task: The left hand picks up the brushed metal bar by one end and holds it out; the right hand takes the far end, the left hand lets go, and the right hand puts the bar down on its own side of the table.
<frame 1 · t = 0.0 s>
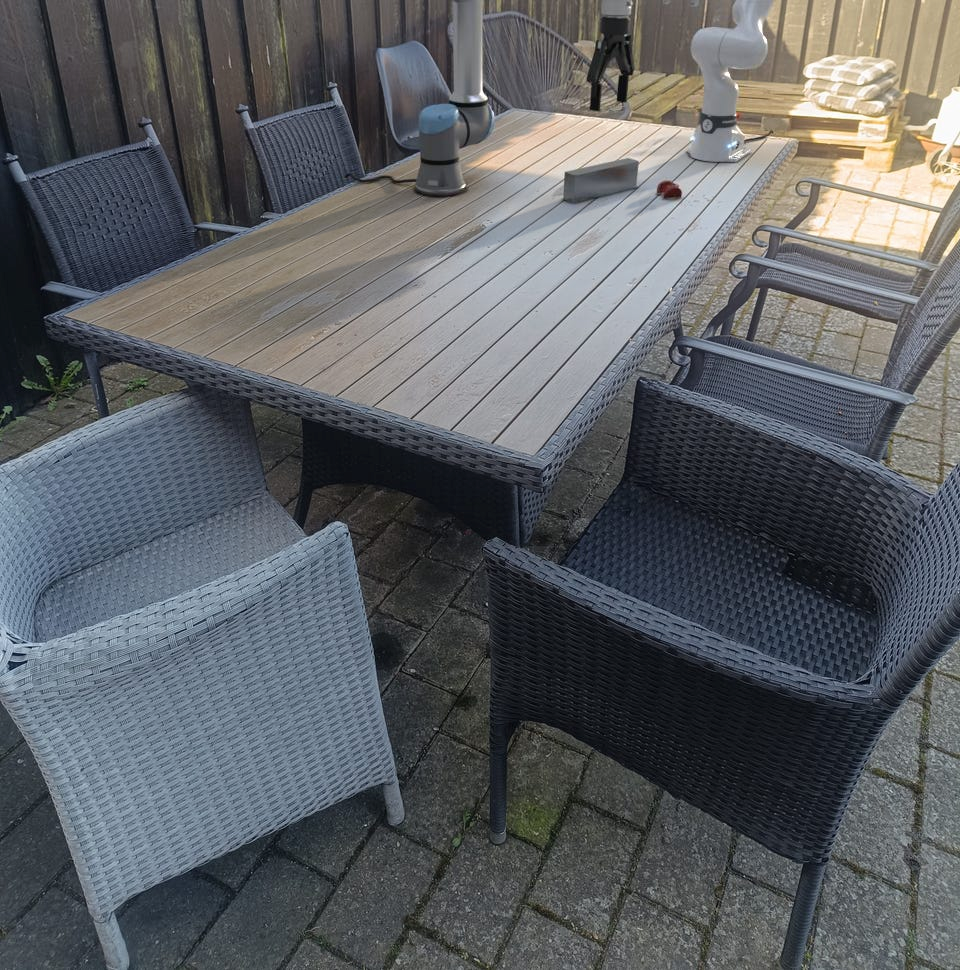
left hand: (608, 106, 226), 28 cm above the table, tool pointing down, fingers open, 13 cm apart
right hand: (680, 4, 244), 48 cm above the table, tool pointing down, fingers open, 8 cm apart
dental model: (668, 196, 253), on the table
bar: (600, 193, 256), on the table
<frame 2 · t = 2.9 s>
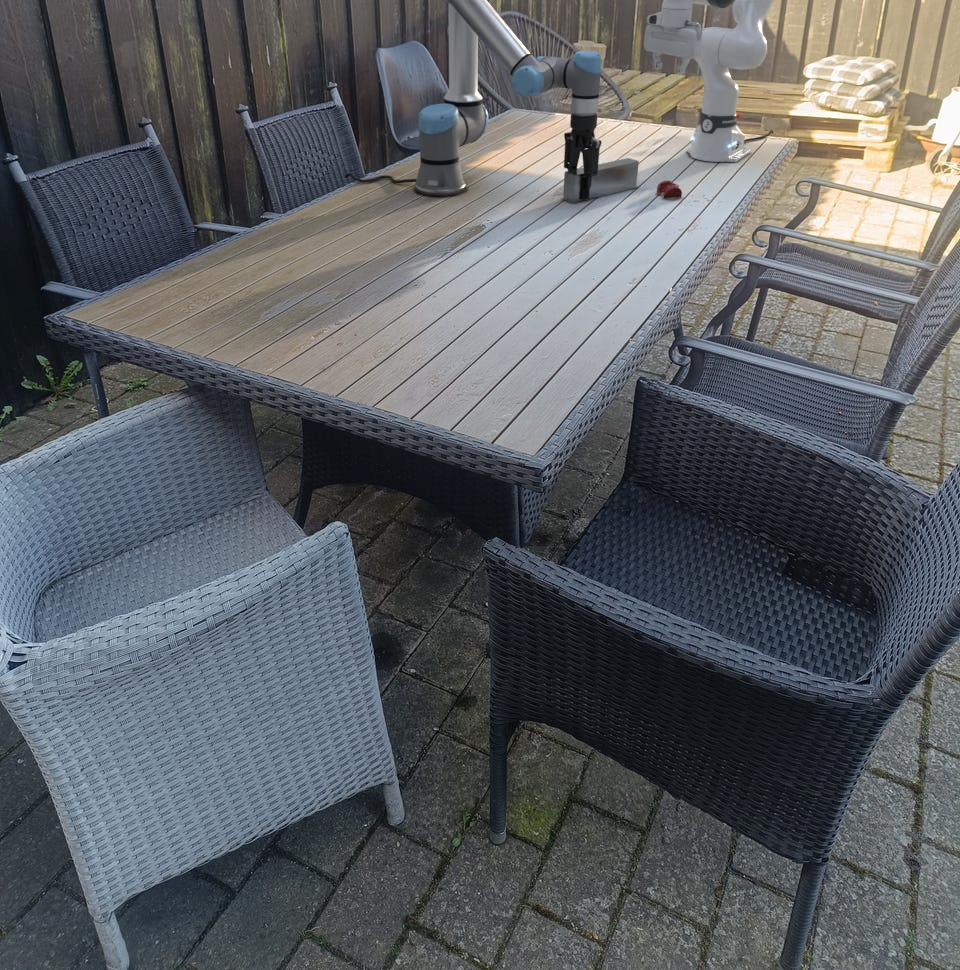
left hand: (578, 196, 251), 1 cm above the table, tool pointing down, fingers closed on bar, 5 cm apart
right hand: (669, 71, 253), 31 cm above the table, tool pointing down, fingers open, 8 cm apart
bar: (600, 193, 256), on the table, touching left hand
everything else where it was.
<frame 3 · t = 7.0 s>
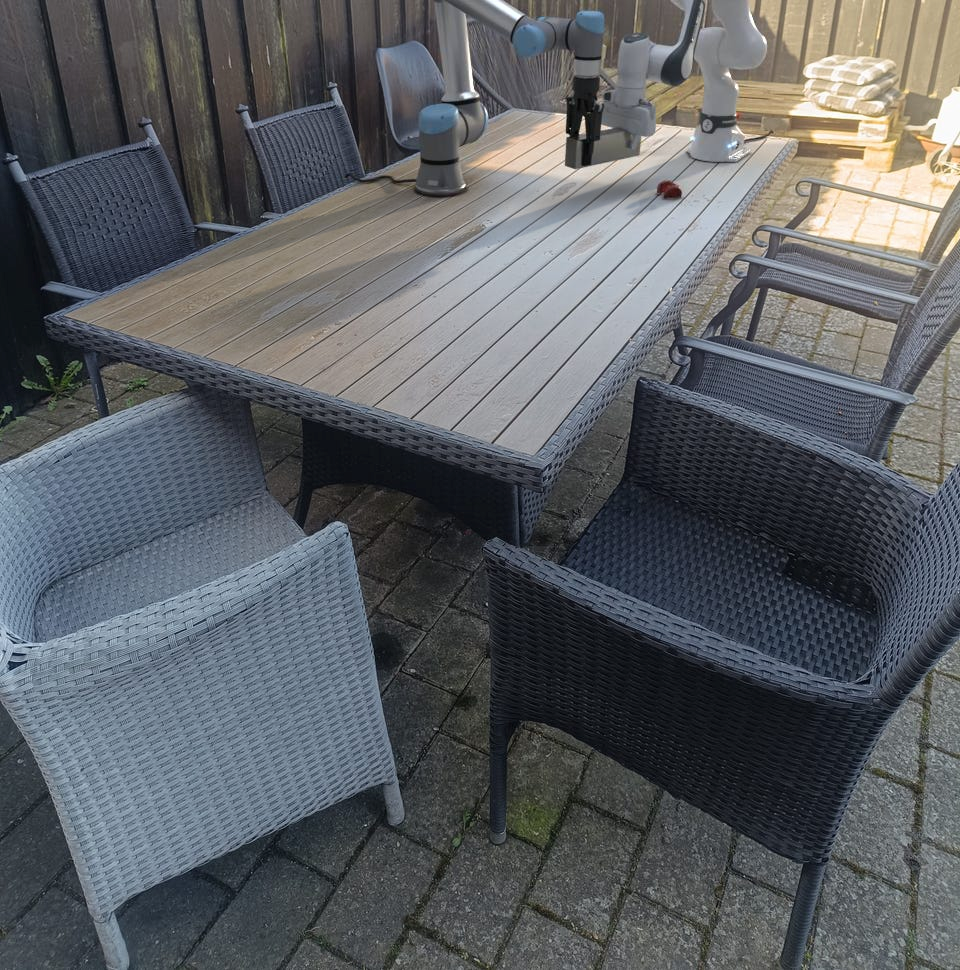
left hand: (580, 163, 245), 10 cm above the table, tool pointing down, fingers closed on bar, 5 cm apart
right hand: (625, 146, 253), 12 cm above the table, tool pointing down, fingers closed on bar, 4 cm apart
bar: (602, 160, 250), point 10 cm above the table, touching left hand, right hand
everything else where it was.
when the left hand's fingers open (10 cm above the table, at t = 7.8 s): bar stays where it is, held by the right hand.
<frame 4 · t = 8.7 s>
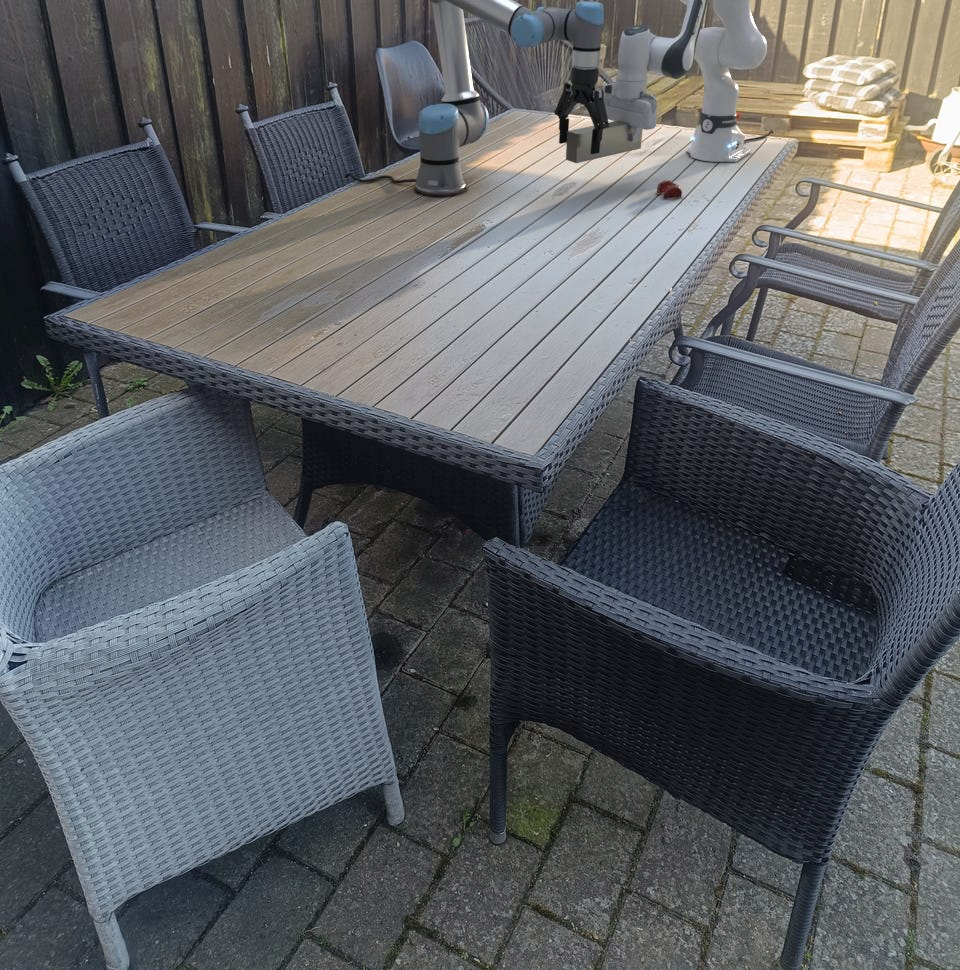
left hand: (578, 148, 243), 14 cm above the table, tool pointing down, fingers open, 13 cm apart
right hand: (626, 139, 252), 14 cm above the table, tool pointing down, fingers closed on bar, 4 cm apart
bar: (603, 154, 249), point 11 cm above the table, touching right hand
everything else where it was.
when the right hand's fingers open (5 cm above the table, at t = 17.8 s): bar stays where it is, on the table.
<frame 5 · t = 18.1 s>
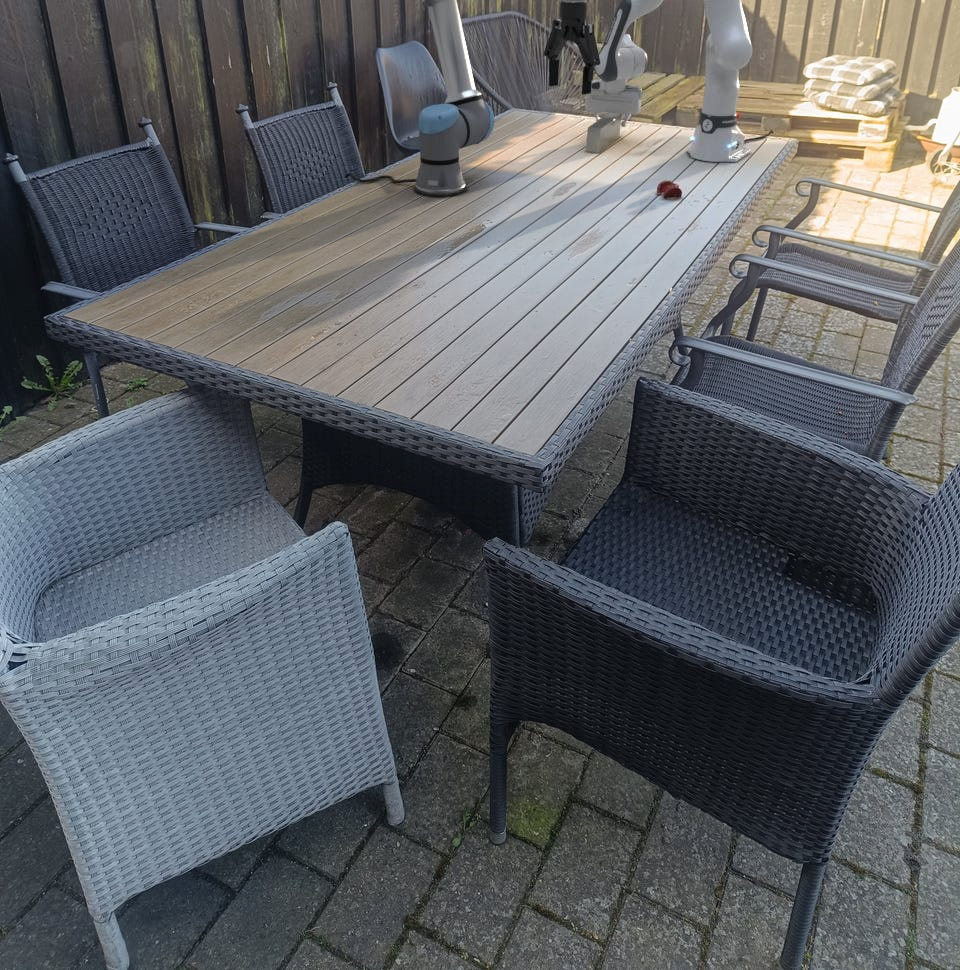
left hand: (569, 89, 231), 31 cm above the table, tool pointing down, fingers open, 13 cm apart
right hand: (611, 125, 307), 5 cm above the table, tool pointing down, fingers open, 8 cm apart
bar: (603, 143, 304), on the table
everything else where it was.
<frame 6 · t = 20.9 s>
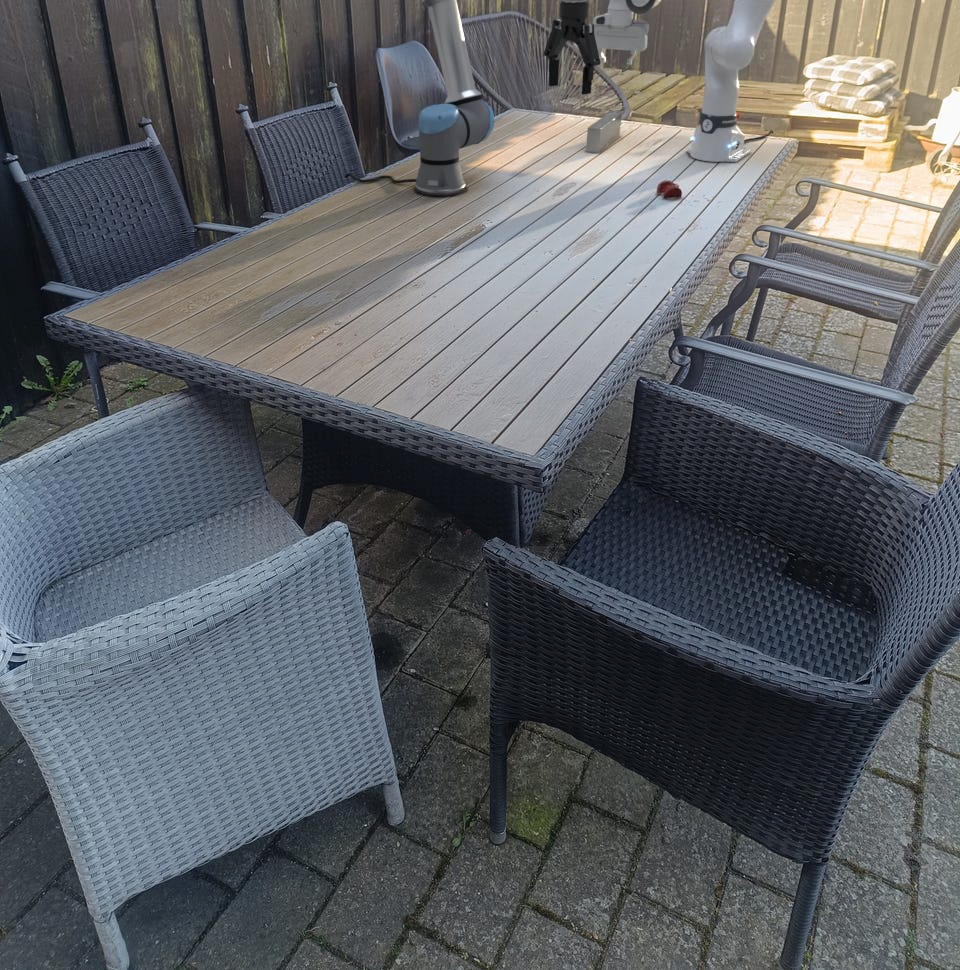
left hand: (569, 89, 231), 31 cm above the table, tool pointing down, fingers open, 13 cm apart
right hand: (616, 63, 295), 25 cm above the table, tool pointing down, fingers open, 8 cm apart
nothing on the table moved.
at the end: bar inside the target area (8.5 cm from its centre), on the table; the left hand is holding nothing; the right hand is holding nothing; bar at rest at the end (0.0 cm/s) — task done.
